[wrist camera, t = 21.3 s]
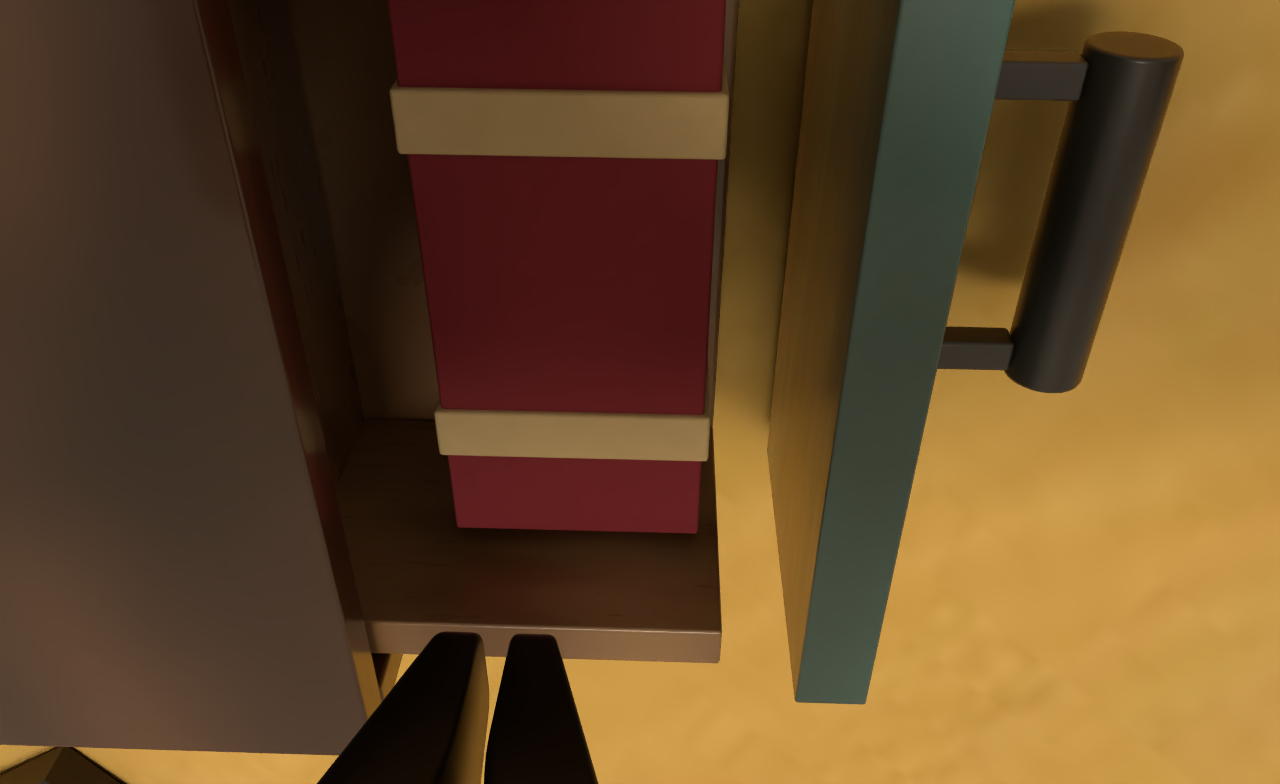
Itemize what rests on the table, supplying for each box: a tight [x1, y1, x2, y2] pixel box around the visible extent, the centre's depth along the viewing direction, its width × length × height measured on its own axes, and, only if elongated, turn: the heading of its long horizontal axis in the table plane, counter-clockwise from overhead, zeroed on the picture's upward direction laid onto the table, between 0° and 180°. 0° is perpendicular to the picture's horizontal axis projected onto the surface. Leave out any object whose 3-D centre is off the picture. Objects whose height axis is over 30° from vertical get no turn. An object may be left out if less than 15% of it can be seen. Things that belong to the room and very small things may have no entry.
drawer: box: [228, 0, 1184, 704], centre depth 16 cm, size 15×13×7 cm
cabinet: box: [0, 0, 403, 755], centre depth 16 cm, size 12×15×9 cm
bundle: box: [387, 0, 729, 534], centre depth 17 cm, size 10×4×4 cm, turn 0°
